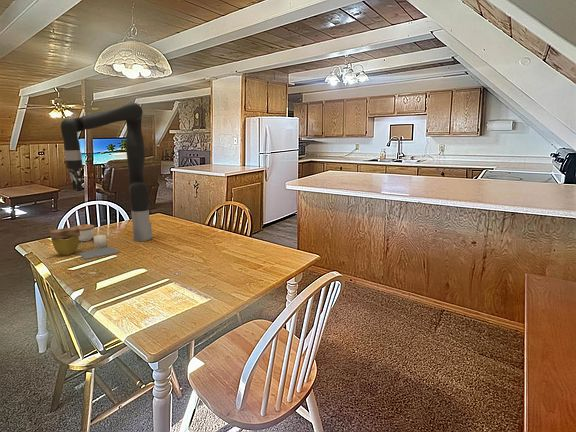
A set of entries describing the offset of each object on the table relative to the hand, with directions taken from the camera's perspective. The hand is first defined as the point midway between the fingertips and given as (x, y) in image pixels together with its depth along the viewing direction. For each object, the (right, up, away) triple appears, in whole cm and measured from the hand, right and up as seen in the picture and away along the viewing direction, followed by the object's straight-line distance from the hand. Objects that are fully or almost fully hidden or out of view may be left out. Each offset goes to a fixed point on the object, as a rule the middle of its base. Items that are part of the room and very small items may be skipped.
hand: (77, 190), depth 194 cm
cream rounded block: (+10, -30, +4) cm, 32 cm away
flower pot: (-1, -33, -7) cm, 34 cm away
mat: (+15, -32, -6) cm, 36 cm away
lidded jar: (-5, -27, +16) cm, 32 cm away
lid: (-1, -24, -9) cm, 26 cm away
